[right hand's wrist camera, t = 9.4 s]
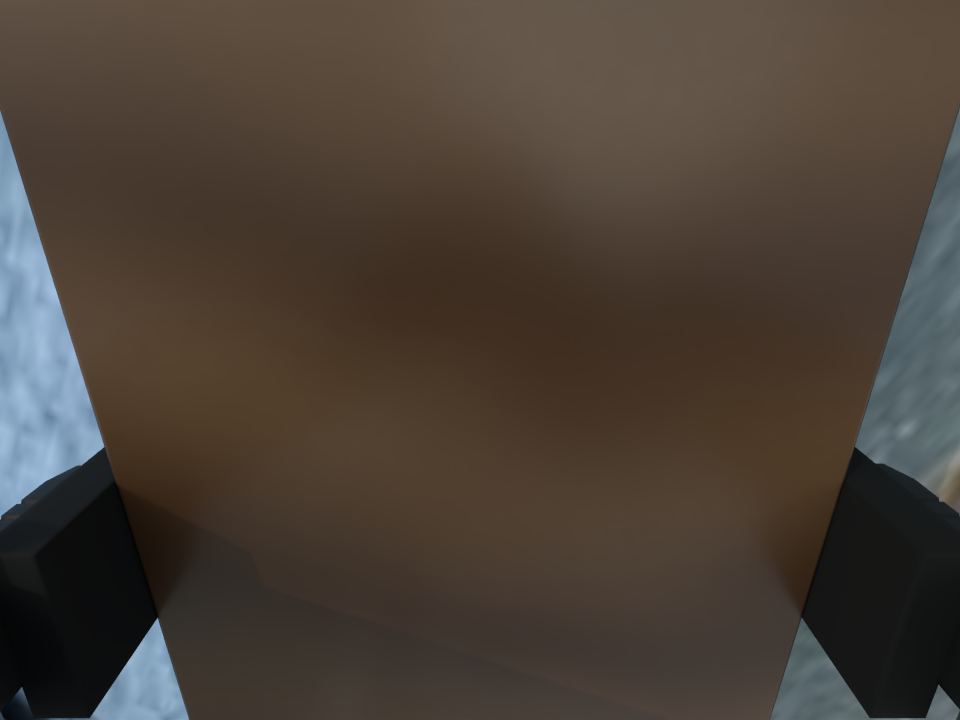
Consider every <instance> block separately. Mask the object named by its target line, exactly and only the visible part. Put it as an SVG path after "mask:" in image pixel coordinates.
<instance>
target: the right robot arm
mask: <svg viewBox="0 0 960 720" xmlns="http://www.w3.org/2000/svg"><path fill="white" fill-rule="evenodd" d="M21 501H22V502H21V504H16V505H15V506H14V507H12V508H11V509H10V510H8V511H7V512H6V513H5V514H3V515H2V516H1V520H0V720H4V719H3V717H2V714H1V711H2V710H3V708H4V707H5V706H6V705H7V704H8V702H9V701H10V700H11V699H12V698H13V697H14V695H15V694H16V693H17V692H18V691H19V689H20V688H21V687H22V688H23V691H24V693H25V696H26V698H27V701H28V704H29V706H30V709H31V711H32V714H33V717H34V718H90V717H91V715H92V714H93V712H94V711H95V709H96V708H97V706H98V705H99V703H100V702H101V700H102V699H103V698H104V696H105V695H106V693H107V692H108V690H109V689H110V687H111V686H112V684H113V683H114V681H115V680H116V678H117V677H118V675H119V674H120V672H121V671H122V669H123V668H124V667H125V665H126V664H127V662H128V661H129V659H130V658H131V656H132V655H133V653H134V652H135V650H136V649H137V647H138V646H139V644H140V643H141V641H142V640H143V638H144V637H145V635H146V634H147V633H148V631H149V630H150V628H151V627H152V625H153V624H154V622H155V621H156V619H157V618H158V617H157V614H156V611H155V607H154V604H153V601H152V598H151V594H150V591H149V588H148V585H147V582H146V578H145V575H144V572H143V569H142V565H141V562H140V559H139V556H138V553H137V549H136V546H135V543H134V540H133V536H132V533H131V530H130V527H129V523H128V520H127V517H126V514H125V511H124V507H123V504H122V501H121V498H120V494H119V491H118V488H117V485H116V482H115V478H114V475H113V472H112V469H111V465H110V462H109V459H108V456H107V453H106V449H105V447H104V448H103V449H102V450H100V451H99V452H98V453H97V454H95V455H94V456H93V457H92V458H90V459H89V460H88V461H87V462H86V463H84V464H83V465H82V466H76V467H74V468H72V469H70V470H68V471H66V472H64V473H62V474H60V475H58V476H56V477H54V478H52V479H50V480H48V481H46V482H44V483H43V484H42V485H40V486H39V487H38V488H37V489H35V490H34V491H33V492H31V493H30V494H29V495H28V496H26V497H25V498H24V499H23V500H21ZM802 618H803V620H804V621H805V623H806V624H807V626H808V627H809V629H810V630H811V632H812V633H813V635H814V636H815V638H816V639H817V640H818V642H819V643H820V645H821V646H822V648H823V649H824V651H825V652H826V654H827V655H828V657H829V658H830V660H831V661H832V663H833V664H834V666H835V667H836V669H837V670H838V671H839V673H840V674H841V676H842V677H843V679H844V680H845V682H846V683H847V685H848V686H849V688H850V689H851V691H852V692H853V694H854V695H855V697H856V698H857V700H858V701H859V703H860V704H861V705H862V707H863V708H864V710H865V711H866V713H867V714H868V716H869V717H870V718H926V715H927V713H928V710H929V708H930V705H931V702H932V700H933V697H934V695H935V692H936V689H937V687H938V684H939V685H940V687H941V688H942V689H943V690H944V691H945V692H946V694H947V695H948V696H949V697H950V698H951V700H952V701H953V702H954V703H955V704H956V705H957V707H958V708H959V709H960V517H959V513H957V512H956V511H955V510H953V509H952V508H951V507H950V506H948V505H947V504H946V503H944V502H939V498H938V497H937V496H935V495H934V494H933V493H932V492H930V491H929V490H928V489H926V488H925V487H924V486H923V485H921V484H920V483H919V482H917V481H916V480H915V479H913V478H911V477H909V476H907V475H905V474H903V473H901V472H899V471H897V470H895V469H893V468H891V467H889V466H887V465H885V464H875V463H874V462H873V461H872V460H870V459H869V458H868V457H867V456H865V455H864V454H863V453H862V452H861V451H859V450H858V449H857V448H856V447H854V450H853V453H852V456H851V460H850V463H849V466H848V469H847V473H846V476H845V479H844V482H843V485H842V489H841V492H840V495H839V498H838V502H837V505H836V508H835V511H834V514H833V518H832V521H831V524H830V527H829V531H828V534H827V537H826V540H825V543H824V547H823V550H822V553H821V556H820V560H819V563H818V566H817V569H816V572H815V576H814V579H813V582H812V585H811V589H810V592H809V595H808V598H807V602H806V605H805V608H804V611H803V614H802ZM956 720H960V712H959V714H958V717H957V719H956Z"/></svg>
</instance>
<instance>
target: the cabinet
mask: <svg viewBox="0 0 960 720" xmlns="http://www.w3.org/2000/svg"><path fill="white" fill-rule="evenodd" d="M959 108H960V0H0V111H1V114H2V117H3V120H4V123H5V127H6V130H7V133H8V136H9V140H10V143H11V146H12V149H13V152H14V156H15V159H16V162H17V165H18V169H19V172H20V175H21V178H22V182H23V185H24V188H25V191H26V194H27V198H28V201H29V204H30V207H31V211H32V214H33V217H34V220H35V223H36V227H37V230H38V233H39V236H40V240H41V243H42V246H43V249H44V252H45V256H46V259H47V262H48V265H49V269H50V272H51V275H52V278H53V282H54V285H55V288H56V291H57V294H58V298H59V301H60V304H61V307H62V311H63V314H64V317H65V320H66V323H67V327H68V330H69V333H70V336H71V340H72V343H73V346H74V349H75V352H76V356H77V359H78V362H79V365H80V369H81V372H82V375H83V378H84V382H85V385H86V388H87V391H88V394H89V398H90V401H91V404H92V407H93V411H94V414H95V417H96V420H97V423H98V427H99V430H100V433H101V436H102V440H103V443H104V446H105V449H106V453H107V456H108V459H109V462H110V465H111V469H112V472H113V475H114V478H115V482H116V485H117V488H118V491H119V494H120V498H121V501H122V504H123V507H124V511H125V514H126V517H127V520H128V523H129V527H130V530H131V533H132V536H133V540H134V543H135V546H136V549H137V553H138V556H139V559H140V562H141V565H142V569H143V572H144V575H145V578H146V582H147V585H148V588H149V591H150V594H151V598H152V601H153V604H154V607H155V611H156V614H157V617H158V620H159V623H160V627H161V630H162V633H163V636H164V640H165V643H166V646H167V649H168V653H169V656H170V659H171V662H172V665H173V669H174V672H175V675H176V678H177V682H178V685H179V688H180V691H181V694H182V698H183V701H184V704H185V707H186V711H187V714H188V717H189V720H770V718H771V714H772V711H773V708H774V705H775V701H776V698H777V695H778V692H779V689H780V685H781V682H782V679H783V676H784V672H785V669H786V666H787V663H788V660H789V656H790V653H791V650H792V647H793V643H794V640H795V637H796V634H797V631H798V627H799V624H800V621H801V618H802V614H803V611H804V608H805V605H806V602H807V598H808V595H809V592H810V589H811V585H812V582H813V579H814V576H815V572H816V569H817V566H818V563H819V560H820V556H821V553H822V550H823V547H824V543H825V540H826V537H827V534H828V531H829V527H830V524H831V521H832V518H833V514H834V511H835V508H836V505H837V502H838V498H839V495H840V492H841V489H842V485H843V482H844V479H845V476H846V473H847V469H848V466H849V463H850V460H851V456H852V453H853V450H854V447H855V444H856V440H857V437H858V434H859V431H860V427H861V424H862V421H863V418H864V415H865V411H866V408H867V405H868V402H869V398H870V395H871V392H872V389H873V385H874V382H875V379H876V376H877V373H878V369H879V366H880V363H881V360H882V356H883V353H884V350H885V347H886V344H887V340H888V337H889V334H890V331H891V327H892V324H893V321H894V318H895V315H896V311H897V308H898V305H899V302H900V298H901V295H902V292H903V289H904V286H905V282H906V279H907V276H908V273H909V269H910V266H911V263H912V260H913V257H914V253H915V250H916V247H917V244H918V240H919V237H920V234H921V231H922V228H923V224H924V221H925V218H926V215H927V211H928V208H929V205H930V202H931V198H932V195H933V192H934V189H935V186H936V182H937V179H938V176H939V173H940V169H941V166H942V163H943V160H944V157H945V153H946V150H947V147H948V144H949V140H950V137H951V134H952V131H953V128H954V124H955V121H956V118H957V115H958V111H959Z"/></svg>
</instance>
